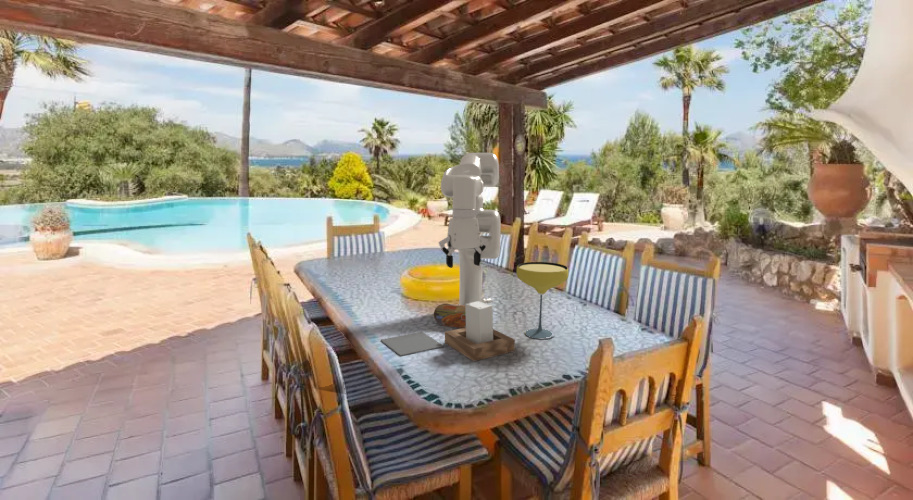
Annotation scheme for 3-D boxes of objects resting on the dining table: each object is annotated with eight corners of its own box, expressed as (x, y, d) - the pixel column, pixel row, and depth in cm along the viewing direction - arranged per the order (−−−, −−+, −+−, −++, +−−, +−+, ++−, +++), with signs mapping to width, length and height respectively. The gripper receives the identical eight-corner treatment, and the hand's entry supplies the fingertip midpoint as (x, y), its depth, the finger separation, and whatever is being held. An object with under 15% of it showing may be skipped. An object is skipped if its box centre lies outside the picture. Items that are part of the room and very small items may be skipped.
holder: (483, 334, 171) (483, 324, 170) (514, 351, 156) (514, 339, 155) (444, 342, 162) (444, 331, 162) (473, 361, 147) (474, 349, 147)
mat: (421, 332, 172) (421, 331, 172) (444, 346, 159) (444, 345, 159) (380, 340, 164) (380, 339, 164) (400, 356, 151) (400, 355, 151)
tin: (433, 324, 182) (433, 303, 180) (436, 322, 184) (436, 301, 183) (470, 329, 176) (471, 307, 175) (473, 326, 179) (473, 305, 178)
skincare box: (493, 349, 157) (494, 306, 155) (478, 353, 154) (479, 308, 151) (478, 341, 164) (479, 300, 162) (464, 344, 161) (464, 302, 158)
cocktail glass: (567, 329, 177) (571, 263, 173) (562, 346, 160) (565, 274, 156) (520, 323, 183) (522, 260, 179) (509, 339, 166) (511, 269, 162)
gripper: (482, 212, 161) (481, 262, 163) (435, 214, 154) (434, 265, 157) (493, 214, 154) (492, 266, 157) (443, 216, 147) (443, 270, 150)
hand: (463, 266), depth 157 cm, fingers open, 9 cm apart
